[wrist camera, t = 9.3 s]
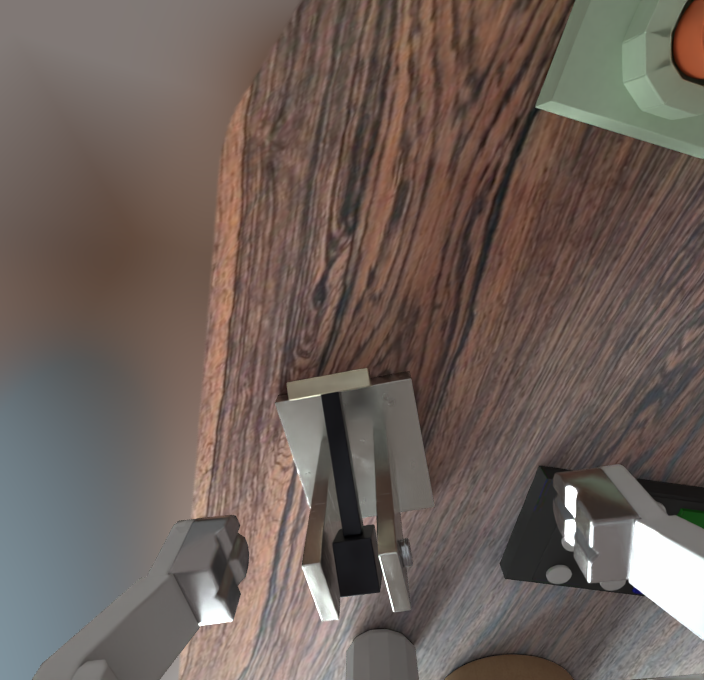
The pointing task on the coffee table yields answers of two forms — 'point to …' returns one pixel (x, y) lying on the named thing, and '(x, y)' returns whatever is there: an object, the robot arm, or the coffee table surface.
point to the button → (690, 41)
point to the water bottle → (381, 657)
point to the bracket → (361, 480)
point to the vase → (510, 669)
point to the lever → (345, 484)
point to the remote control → (558, 555)
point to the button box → (626, 74)
